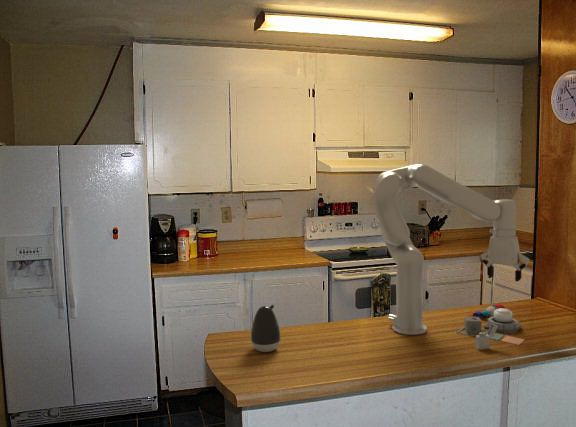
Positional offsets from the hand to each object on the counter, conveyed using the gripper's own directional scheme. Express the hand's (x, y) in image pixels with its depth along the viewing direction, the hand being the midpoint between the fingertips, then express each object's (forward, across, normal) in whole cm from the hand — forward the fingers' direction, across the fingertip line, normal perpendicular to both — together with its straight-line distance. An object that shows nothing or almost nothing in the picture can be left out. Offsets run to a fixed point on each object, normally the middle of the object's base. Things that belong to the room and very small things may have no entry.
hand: (504, 279), depth 180 cm
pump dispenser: (+18, -54, -71) cm, 91 cm away
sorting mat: (+19, -1, -11) cm, 22 cm away
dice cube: (+19, -7, -11) cm, 23 cm away
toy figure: (+19, -10, +10) cm, 24 cm away
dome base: (+19, 0, 0) cm, 19 cm away
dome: (+15, 0, 0) cm, 15 cm away
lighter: (+19, +2, -23) cm, 30 cm away
